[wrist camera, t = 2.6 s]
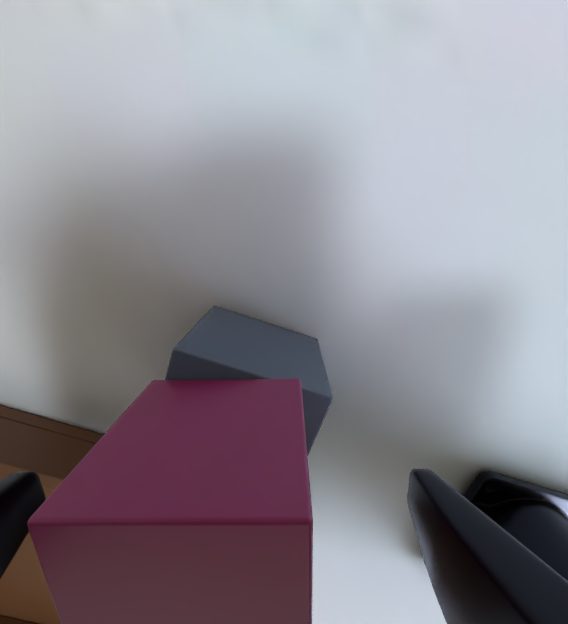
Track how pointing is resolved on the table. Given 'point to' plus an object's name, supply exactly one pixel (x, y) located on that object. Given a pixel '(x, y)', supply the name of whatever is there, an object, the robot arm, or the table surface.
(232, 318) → the slate block
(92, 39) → the table surface
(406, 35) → the table surface
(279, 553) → the mulberry block
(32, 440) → the tray
